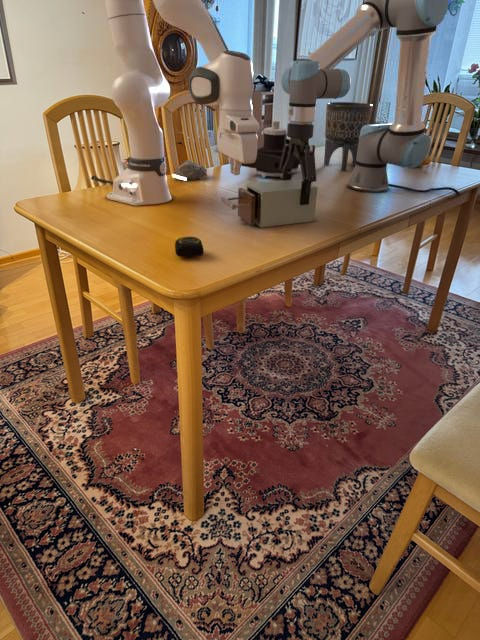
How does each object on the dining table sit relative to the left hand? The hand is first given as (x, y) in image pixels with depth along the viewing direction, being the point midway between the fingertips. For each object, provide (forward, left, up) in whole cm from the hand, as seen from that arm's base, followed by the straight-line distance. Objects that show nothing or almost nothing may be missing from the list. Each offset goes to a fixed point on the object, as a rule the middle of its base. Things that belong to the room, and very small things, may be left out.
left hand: (235, 174), depth 129 cm
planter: (+10, +98, -15) cm, 100 cm away
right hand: (+14, +15, -9) cm, 22 cm away
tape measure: (+1, -28, -15) cm, 32 cm away
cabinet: (+10, +11, -15) cm, 21 cm away
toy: (+41, +121, -15) cm, 128 cm away
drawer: (+6, +6, -14) cm, 16 cm away
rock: (-39, +45, -15) cm, 61 cm away
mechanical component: (-11, +72, -15) cm, 74 cm away
